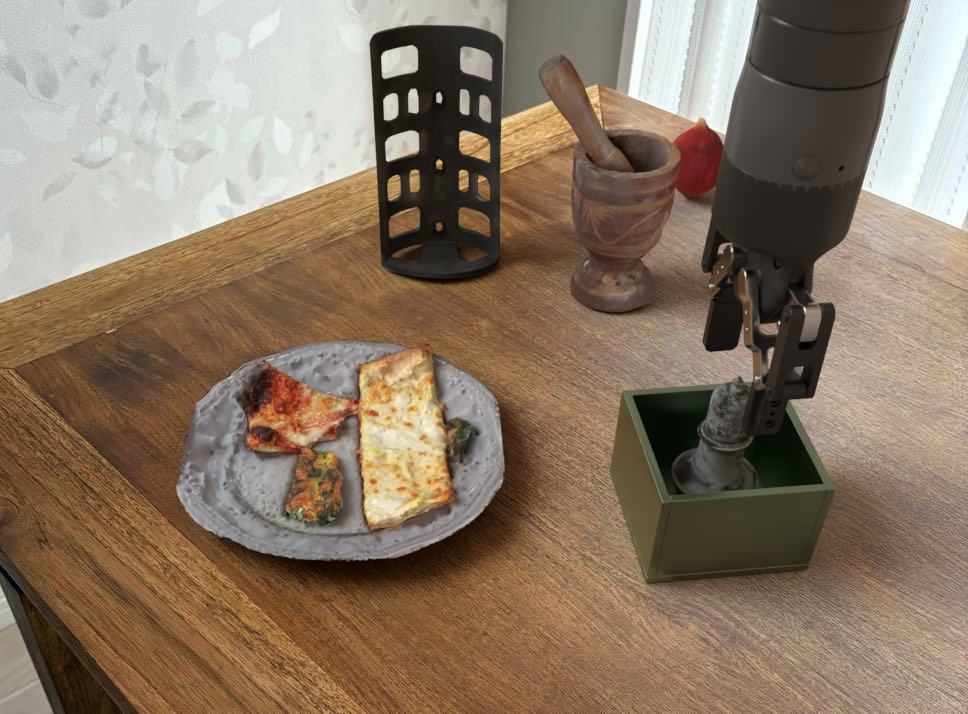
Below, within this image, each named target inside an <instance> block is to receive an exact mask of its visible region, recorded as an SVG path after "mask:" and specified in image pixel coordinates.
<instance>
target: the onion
mask: <svg viewBox="0 0 968 714" xmlns="http://www.w3.org/2000/svg"><path fill="white" fill-rule="evenodd" d="M672 143H674V144H675V145H676V146H677V149H678V151H680V153H681V159H680V164H679V171H678V176H677V183H676V186H675V190H676V191H677V192H678V193H680V194H681V195H682V196H683V197H684V198H686V199H693V198H696V197H700V196H702V195H705V194H706V193H708V192H709V191H711V190H713V189H714V188H716V182H717V177H718V172H719V167H720V162H721V157H722V151H723V146H724V142H723V141H722V139H721V137H720V136H719V134H718V133H717V132H716V131H715V130H713V129H712V128H710V126H709V125H708V123H707V121H706V119H705V118H704V117H698V119H697V122H696V123H695V126H693V127H691V128H688V129H686V130H685V131H684V132H682V133H680V134H679V135H678V136H677V137H676V138H675V139H674V140H673V141H672Z"/></svg>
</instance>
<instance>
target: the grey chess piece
mask: <svg viewBox="0 0 968 714" xmlns="http://www.w3.org/2000/svg"><path fill="white" fill-rule="evenodd" d="M744 382H745V381H744V379H743V378H742V376H740V375H738V376H736V377H735V378H733V379H732V381H726V382H724V383H720V384H721V385H720V386H718V387H717V388H716V389H715V390H714V392H713V393H712V396H711V401H710V405H709V409H708V414H707V418H706V419H704V420H703V421H702V422H701V423H700V424H699V427H698V435H699V437H700V443H699V447H698V448H693V449H691V450H688V451H685V452H684V453H682V454H681V455H679V456H678V457H677V458H676V460H675V461H674V462H673V465H672V469H671V474H672V479H673V481H674V485H675V490H676V493H674V494H673V495H683V494H696V493H709V492H722V491H735V490H748V489H757V487H758V482H759V480H758V475H757V472H756V471H755V469H754V467H753V466H752V465H751V464H750V463H749V462H748V461H747V460H746V459H745V458H743V454H744V451H745V448H746V447H747V446H749V445H750V443H751V442H752V440H753V436H747V435H746V434H745V432H744V430H743V428H742V426H741V423H742V419H743V415H744V411H745V407H746V404H747V400H748V396H749V392H750V387H749V386H747V385H745V384H743V383H744Z"/></svg>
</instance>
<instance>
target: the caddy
mask: <svg viewBox="0 0 968 714" xmlns="http://www.w3.org/2000/svg"><path fill="white" fill-rule="evenodd" d="M721 384H722V383H714V384H699V385H698V384H697V385H685V386H684V385H683V386H670V387H668V386H667V387H654V388H642V389H641V388H639V389H638V388H637V389H631V390H630V389H627V390H626V389H625V390H622V391H621V395H620V403H619V409H618V416H617V421H616V422H617V423H616V428H615V435H614V441H613V446H612V453H611V454H612V455H611V459H610V466H609V473H610V477H611V480H612V484H613V486H614V489H615V492H616V495H617V499H618V502H619V505H620V508H621V510H622V514H623V517H624V520H625V523H626V526H627V529H628V533H629V536H630V539H631V541H632V546H633V548H634V551H635V554H636V557H637V561H638V563H639V566H640V567H639V568H640V570H641V572H642V576H643V579H644V583H646V584H651V583H664V582H675V581H685V580H686V581H687V580H688V581H689V580H700V579H713V578H724V577H725V578H726V577H735V576H748V575H749V576H750V575H762V574H775V573H786V572H797V571H798V572H800V571H807V570H808V568H809V565H810V563H811V560H812V557H813V555H814V553H815V549H816V546H817V543H818V540H819V538H820V535H821V532H822V530H823V527H824V524H825V522H826V518H827V516H828V513H829V512H830V511H829V510H830V507H831V505H832V503H833V500H834V498H835V494H836V491H837V487H836V486H835V484H834V482H833V480H832V478H831V477H830V474H829V473H828V471H827V468H826V467H825V464H824V463H823V461H822V459H821V457H820V455H819V454H818V452H817V450H816V448H815V446H814V444H813V442H812V440H811V438H810V436H809V434H808V432H807V430H806V428H805V427H804V425H803V423H802V420H801V419H800V417H799V415H798V413H797V411H796V409H795V407H794V406H793V403H792V401H791V400H788V403H787V407H786V410H785V414H784V417H783V421H782V424H781V428H780V430H779V431H778V432H777V433H775V434H772V435H760V436H753V440H752V442H751V443H750V445H749V446H747V447H746V448H745V451H744V454H743V458H745V459H746V460H747V461H748V462H749V463H750V464H751V465H752V466H753V467H754V469H755V471H756V472H757V475H758V480H759V482H758V487H757V489H748V490H735V491H722V492H709V493H696V494H683V495H673V494H674V493H676V490H675V485H674V481H673V479H672V474H671V469H672V465H673V462H674V461H675V460H676V458H677V457H678V456H679V455H681V454H682V453H684V452H685V451H688V450H691V449H693V448H698V447H699V443H700V437H699V435H698V427H699V424H700V423H701V422H702V421H703V420H704V419H706V418H707V414H708V409H709V405H710V401H711V396H712V393H713V392H714V390H715V389H716V388H717V387H718V386H720V385H721ZM743 384H745V385H747V386H749V387H750V388H751V384H752V381H744V383H743Z"/></svg>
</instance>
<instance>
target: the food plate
mask: <svg viewBox="0 0 968 714" xmlns="http://www.w3.org/2000/svg"><path fill="white" fill-rule="evenodd" d="M433 351H434V350H433V348H432V347H431V345H430V344H429V343H420V344H419V345H417V346H415V347H411V348H410V347H408V346H406V345H402V344H400V343H393V342H380V341H375V340H373V341H372V340H371V341H366V340H356V339H346V338H339V339H332V340H320V341H311V342H306V343H301V344H298V345H294V346H291V347H288V348H285V349H281V350H279V351H275V352H272V353H268V354H266V355H262V356H258V357H255V358H253V359H251V360H247V361H245V362H243V363H242V364H241V365H239V366H238V367H236V368H235V369H234V370H232V371H231V373H229V374H227V377H226V378H224V379H223V380H221V379H220V381H217V382H216V383H215V384H214V385H213V386H211V388H210V389H209V390H208V391H207V392H206V393H205V395H203V397H201V398H200V400H198V402H196V403H195V405H194V406H193V409H192V410H193V411H192V414H191V416H190V421H189V427H188V430H187V434H186V439H185V443H184V448H183V454H182V456H181V460H180V468H179V472H181V473H180V474H179V475H178V477H177V483H176V485H175V486H176V495H177V496H178V498H179V501H180V504H181V505H182V506H183V507H184V510H185V512H186V513H188V515H189V516H190V518H191V519H193V521H194V522H195V523H196V524H198V525H200V526H201V527H202V528H203V529H204V530H205V531H208V532H210V531H211V533H213V534H214V535H216V536H219V538H222V537H224V538H228V539H230V540H231V542H232V541H233V542H236V543H237V544H240V545H241V546H243V547H245V548H247V549H248V550H253V551H256V552H259V553H262V554H268V556H271V555H273V556H275V557H283V558H284V557H286V558H287V559H291V560H292V559H296V560H300V561H301V560H302V561H308V560H309V561H311V560H312V561H315V560H316V561H317V560H319V561H326V562H330V563H333V561H335V560H338V561H345V562H346V563H348V562H350V561H352V562H354V561H356V560H358V561H368V560H369V559H371V560H377V559H380V560H383V559H395V558H399V557H403V556H405V555H409V554H412V553H414V552H417V551H419V550H421V548H425V547H429V546H430V545H431V544H433V545H435V544H436V542H437V543H438V542H439V541H442V540H444V539H446V538H447V537H450V536H452V535H454V534H455V533H456V532H459V531H460V530H461V529H463V528H465V527H466V525H469V524H471V523H472V522H473V521H474V520H475V519H476V518H477V517H478V516H480V514H482V513H483V511H486V509H485V508H486V507H487V506H489V505H490V503H491V502H492V501H493V498H494V497H495V495H496V494H497V492H498V491H499V490H500V489H501V488H502V486H503V484H504V482H506V479H505V472H506V468H505V465H504V463H505V455H504V445H503V432H502V425H501V421H500V418H501V415H500V413H499V411H500V408H499V405H498V404H499V400H497V398H496V396H495V394H494V393H493V392H492V390H491V389H489V387H488V386H487V385H486V384H485V383H483V382H482V381H481V380H479V379H478V378H477V377H476V376H474V375H473V374H471V373H470V372H467V371H465V370H464V369H462V368H459V367H458V366H456V365H455V364H454V363H451V362H450V361H449V360H447V358H446V357H445V356H443V355H437V354H436V353H433ZM332 560H333V561H332Z"/></svg>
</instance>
